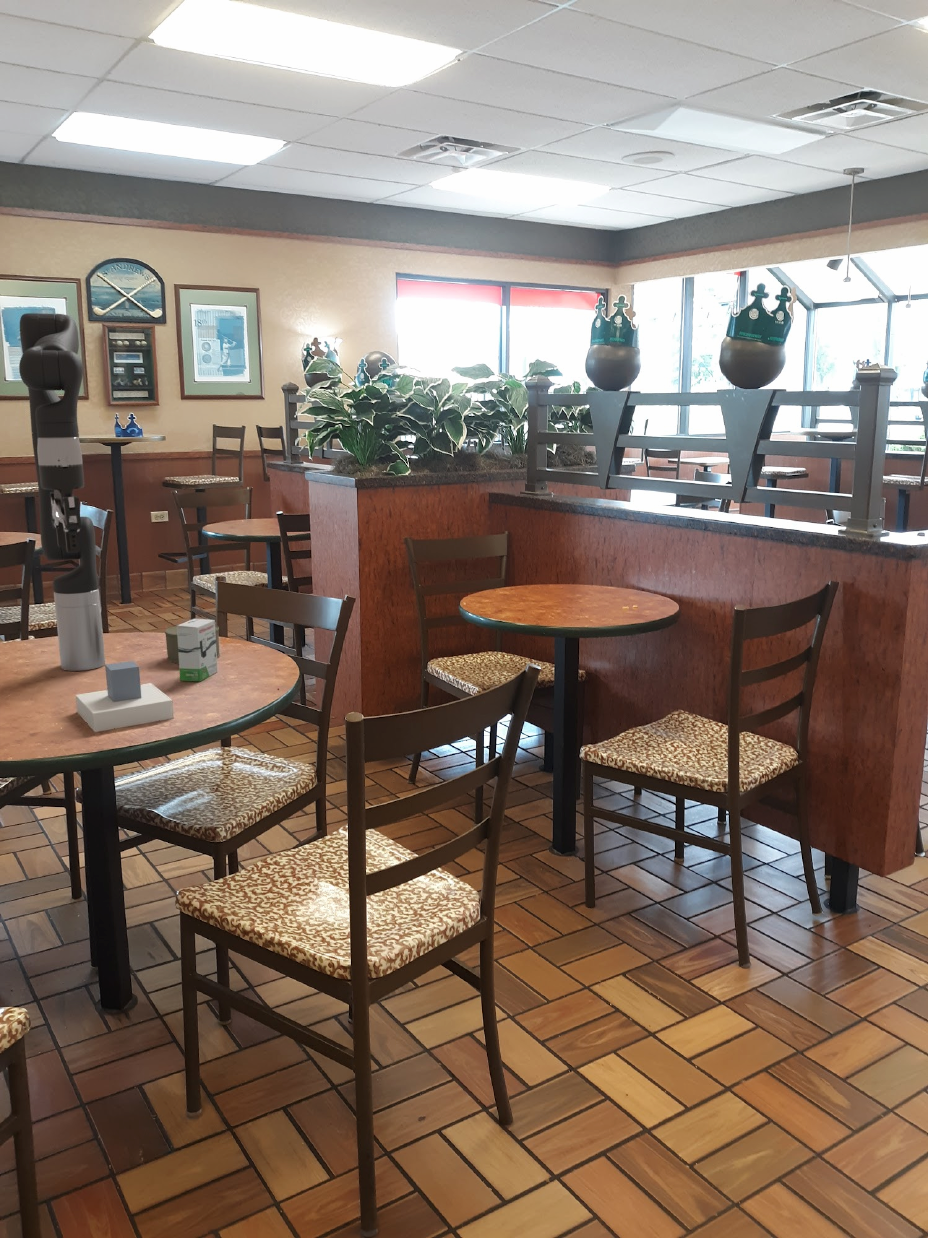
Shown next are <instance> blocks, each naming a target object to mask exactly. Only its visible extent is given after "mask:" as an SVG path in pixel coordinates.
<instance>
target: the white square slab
mask: <svg viewBox="0 0 928 1238" xmlns="http://www.w3.org/2000/svg"><path fill="white" fill-rule="evenodd" d="M140 685H141V697H142V698H138V699H131V700H125V701H118V702H113V701H112V700H111V699H110V697H109V696H108V691H107V689H105V690H99V691H91V692H85V693H80V694H75V700H76V701H75V703H76V713H77V712H78V713H77V714H78V715H79V716H80V717H81V718H82V720H84V722H85V723H86V722H87V723H88V724H87V723H86V724H87V725H88V726H89V727H90V728H91V729H92V730H93V732H94V733H98V732H104V731H109V730H115V729H119V728H125V727H130V726H131V727H132V726H137V725H143V724H148V723H152V722H159V720H160V721H165V720H170V719H174V717H175V716H174V715H175V714H174V706H173V705H174V704H173V703H174V702H173V700H172V698H171V697H169V696H168V695H167V694H165V693H164V692H163V691H161V690H160V689H159V688H158V687H156V686H155V684H154V683H151V682H149V683H143V684H142V683H140ZM114 728H115V729H114Z"/></svg>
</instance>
